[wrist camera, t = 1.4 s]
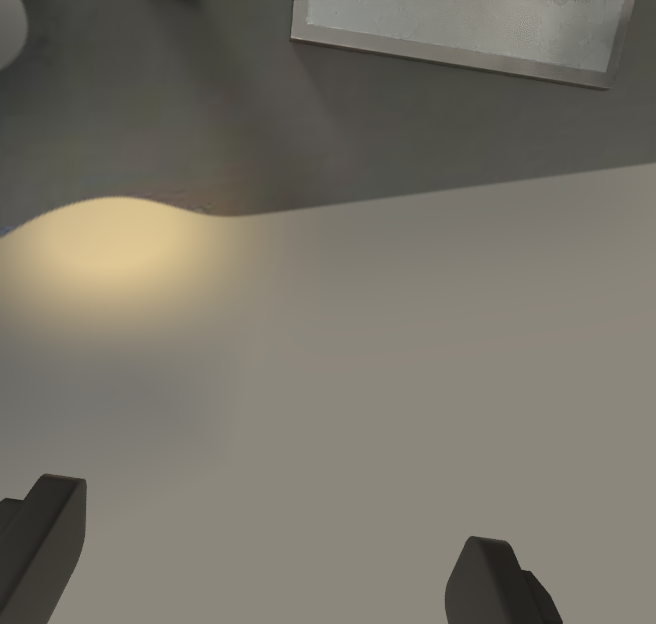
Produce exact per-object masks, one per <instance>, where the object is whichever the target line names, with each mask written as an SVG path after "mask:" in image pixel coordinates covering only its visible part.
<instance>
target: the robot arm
mask: <svg viewBox="0 0 656 624" xmlns="http://www.w3.org/2000/svg"><path fill="white" fill-rule="evenodd" d="M86 488H87V486H86V480H84V479H80V478H72V477H66V476H59V475H52V474H44V475H42V476H41V477H40V478H39V479H38V481H37V482H36V483H35V485H34V486H33V487H32V489H31V490H30V492H29V493H28V494H27V496H26V497H25V499H24V500H17V499H9V498H5V499H3V500H2V501H1V502H0V624H47V623H48V621H49V619H50V617H51V615H52V613H53V611H54V609H55V607H56V605H57V603H58V601H59V599H60V597H61V595H62V593H63V591H64V589H65V587H66V585H67V583H68V581H69V579H70V577H71V575H72V573H73V571H74V569H75V567H76V564H77V562H78V559H79V557H80V554H81V551H82V547H83V543H84V537H85V522H86ZM445 609H446V615H447V620H448V623H449V624H563V621H562V619H561V617H560V615H559V613H558V611H557V609H556V607H555V604H554V602H553V600H552V598H551V596H550V595H549V593H548V592H547V591H546V589H545V588H544V587H543V586H542V585H541V583H540V582H539V581H538V580H537V579H536V577H535V576H534V575H533V574H532V573H531V571H525V570H521V568H520V566H519V564H518V561H517V558H516V556H515V554H514V551H513V549H512V547H511V546H510V544H509V543H508V542H506V541H503V540H496V539H489V538H481V537H475V536H471V537H469V538H468V540H467V541H466V543H465V545H464V548H463V550H462V552H461V554H460V556H459V559H458V561H457V563H456V565H455V567H454V569H453V571H452V574H451V576H450V578H449V580H448V583H447V586H446V592H445Z"/></svg>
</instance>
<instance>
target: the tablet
mask: <svg viewBox="0 0 656 624" xmlns="http://www.w3.org/2000/svg"><path fill="white" fill-rule="evenodd" d="M634 4H635V0H293V4H292V16H291V29H290V41H292V42H298V43H305V44H311V45H317V46H324V47H330V48H336V49H343V50H349V51H355V52H362V53H368V54H374V55H381V56H387V57H394V58H400V59H406V60H413V61H419V62H425V63H432V64H438V65H444V66H451V67H457V68H463V69H470V70H476V71H482V72H489V73H495V74H501V75H508V76H514V77H520V78H527V79H533V80H539V81H546V82H552V83H558V84H565V85H571V86H577V87H584V88H590V89H596V90H609V89H612V88H613V84H614V81H615V77H616V73H617V69H618V65H619V61H620V58H621V54H622V50H623V46H624V42H625V38H626V35H627V31H628V27H629V23H630V19H631V15H632V12H633V8H634Z"/></svg>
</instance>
